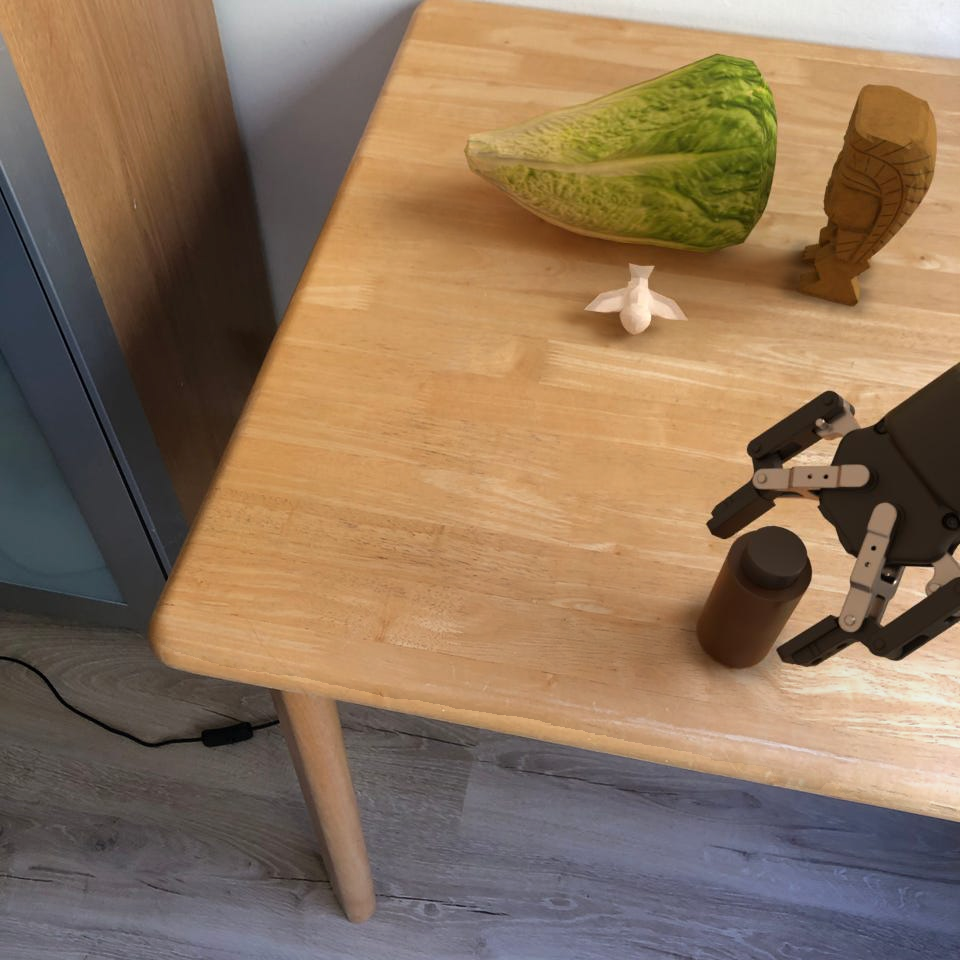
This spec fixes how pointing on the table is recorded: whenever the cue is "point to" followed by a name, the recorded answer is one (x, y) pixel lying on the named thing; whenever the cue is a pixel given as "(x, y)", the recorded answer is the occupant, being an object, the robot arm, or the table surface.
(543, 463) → the table surface
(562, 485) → the table surface
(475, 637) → the table surface
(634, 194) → the lettuce
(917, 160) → the figurine
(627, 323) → the toy bird
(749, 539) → the pepper mill
